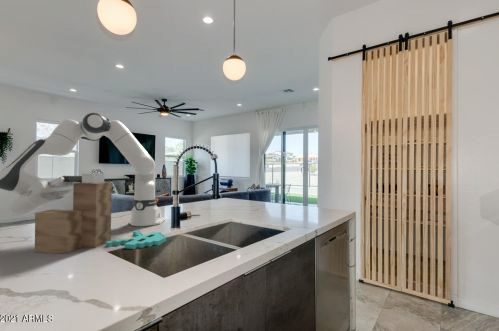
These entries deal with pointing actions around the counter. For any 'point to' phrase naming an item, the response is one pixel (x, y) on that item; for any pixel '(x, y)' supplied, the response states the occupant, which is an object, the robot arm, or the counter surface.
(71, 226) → the step stand
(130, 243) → the alien figure
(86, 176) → the mallet
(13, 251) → the counter surface
